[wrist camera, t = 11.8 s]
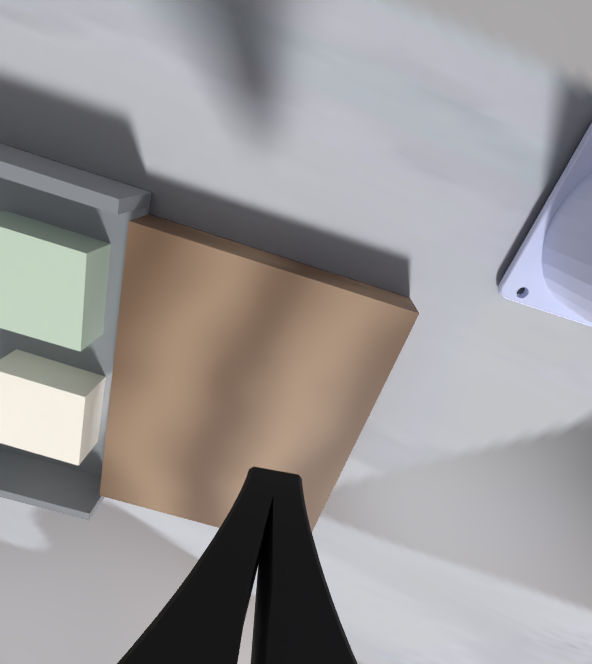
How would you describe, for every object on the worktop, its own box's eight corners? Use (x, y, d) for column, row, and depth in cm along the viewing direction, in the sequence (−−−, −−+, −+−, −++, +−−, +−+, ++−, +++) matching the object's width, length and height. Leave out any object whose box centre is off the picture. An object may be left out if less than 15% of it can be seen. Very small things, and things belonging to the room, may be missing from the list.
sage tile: (110, 243, 18) (86, 253, 16) (102, 334, 20) (80, 351, 18) (4, 210, 18) (-32, 216, 16) (8, 305, 20) (-24, 321, 18)
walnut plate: (410, 297, 18) (419, 313, 17) (304, 522, 26) (302, 550, 24) (149, 214, 18) (128, 221, 16) (115, 470, 25) (99, 495, 23)
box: (151, 192, 17) (118, 199, 14) (114, 480, 25) (89, 520, 22) (-119, 104, 16) (-208, 94, 14) (-69, 431, 24) (-118, 465, 22)
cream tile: (105, 376, 21) (85, 397, 19) (97, 441, 23) (78, 465, 21) (16, 349, 21) (-13, 367, 19) (16, 417, 23) (-10, 440, 21)
